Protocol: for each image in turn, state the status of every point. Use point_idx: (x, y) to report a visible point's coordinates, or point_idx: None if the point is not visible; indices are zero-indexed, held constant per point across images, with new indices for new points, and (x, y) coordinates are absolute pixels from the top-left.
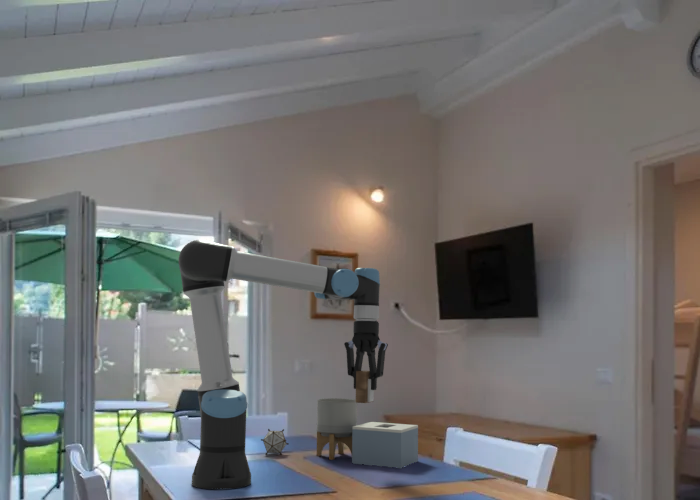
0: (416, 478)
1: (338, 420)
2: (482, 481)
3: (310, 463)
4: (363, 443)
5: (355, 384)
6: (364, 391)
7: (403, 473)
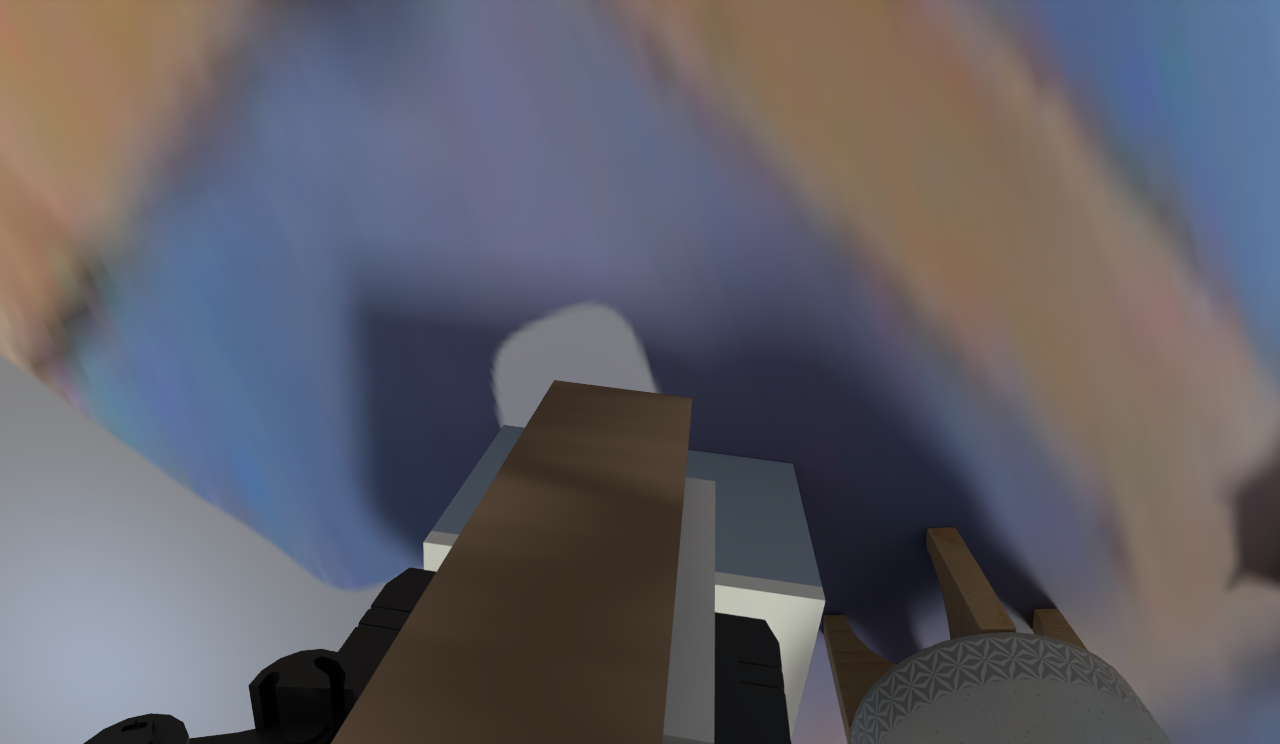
0: (328, 196)
1: (985, 717)
2: (36, 260)
3: (1035, 382)
4: (725, 518)
5: (746, 677)
6: (521, 452)
7: (441, 303)
